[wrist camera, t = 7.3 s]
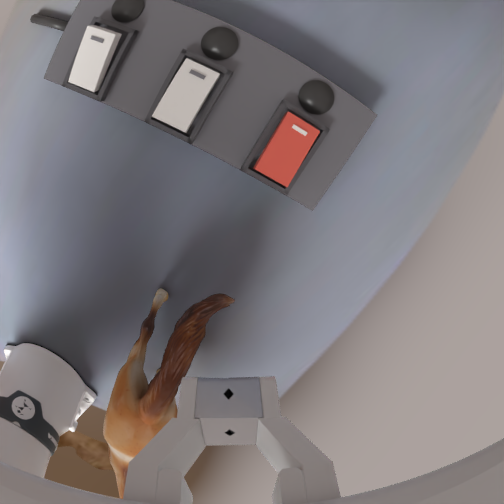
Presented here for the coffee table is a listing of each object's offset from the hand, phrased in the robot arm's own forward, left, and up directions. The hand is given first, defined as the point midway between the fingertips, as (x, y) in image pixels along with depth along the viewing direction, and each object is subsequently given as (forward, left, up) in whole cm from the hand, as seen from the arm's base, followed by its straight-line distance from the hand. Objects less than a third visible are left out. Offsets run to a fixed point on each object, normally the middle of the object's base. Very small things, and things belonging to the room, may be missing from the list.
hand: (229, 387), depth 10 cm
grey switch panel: (+7, +11, -21) cm, 25 cm away
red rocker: (+6, -1, -17) cm, 18 cm away
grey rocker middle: (+5, +7, -17) cm, 20 cm away
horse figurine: (-23, -4, -22) cm, 32 cm away
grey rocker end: (+6, +16, -17) cm, 24 cm away
